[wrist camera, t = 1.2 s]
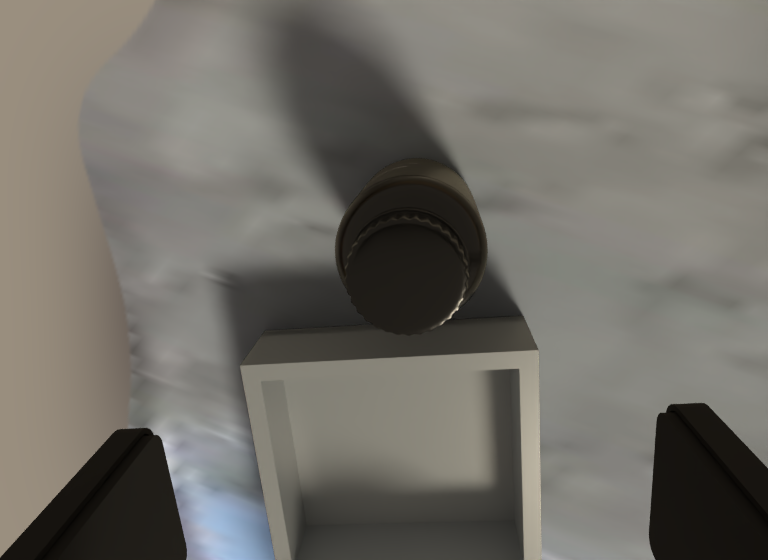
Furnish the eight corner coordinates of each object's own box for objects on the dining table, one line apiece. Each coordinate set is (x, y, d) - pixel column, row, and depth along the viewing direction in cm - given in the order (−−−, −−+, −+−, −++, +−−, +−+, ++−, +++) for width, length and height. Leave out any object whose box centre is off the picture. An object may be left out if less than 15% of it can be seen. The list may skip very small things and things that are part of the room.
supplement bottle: (383, 137, 32) (357, 157, 20) (495, 184, 32) (532, 230, 21) (340, 247, 34) (295, 321, 22) (445, 290, 34) (454, 385, 23)
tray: (523, 315, 34) (538, 350, 29) (527, 521, 38) (541, 580, 34) (265, 330, 36) (239, 365, 31) (297, 527, 40) (279, 584, 35)
